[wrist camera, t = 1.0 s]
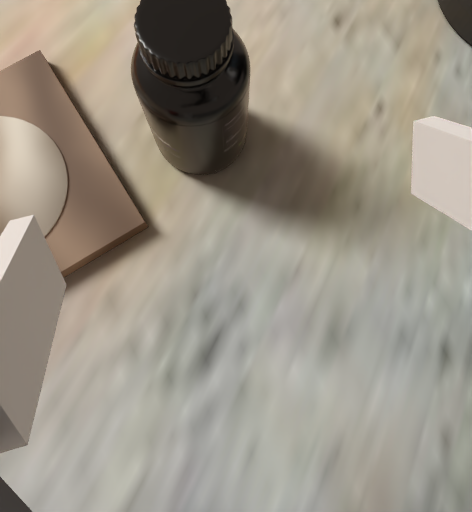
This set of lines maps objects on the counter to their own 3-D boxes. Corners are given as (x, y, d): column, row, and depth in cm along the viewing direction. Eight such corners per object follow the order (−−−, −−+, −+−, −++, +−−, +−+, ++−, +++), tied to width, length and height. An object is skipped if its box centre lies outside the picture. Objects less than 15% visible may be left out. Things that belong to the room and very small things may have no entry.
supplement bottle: (143, 161, 32) (87, 55, 20) (176, 83, 33) (141, -59, 21) (230, 190, 31) (224, 99, 20) (260, 110, 33) (271, -21, 21)
